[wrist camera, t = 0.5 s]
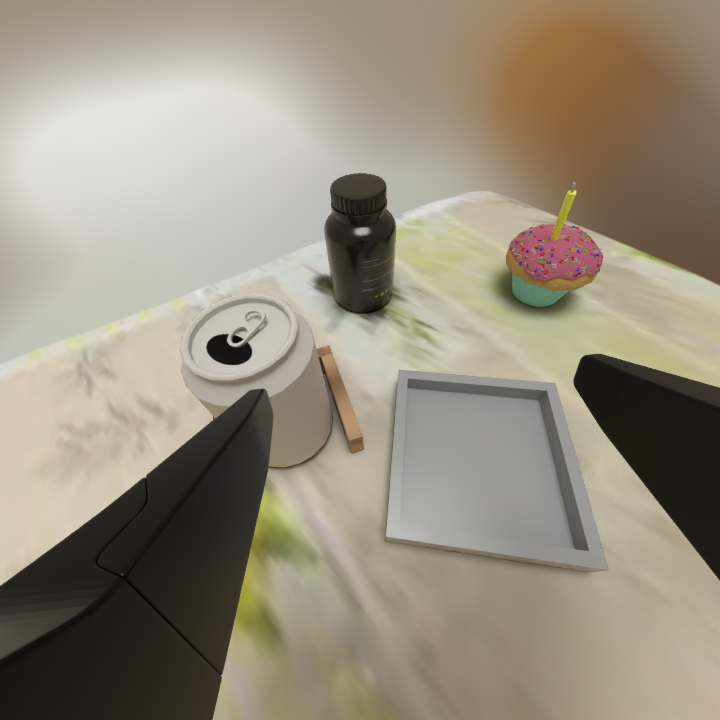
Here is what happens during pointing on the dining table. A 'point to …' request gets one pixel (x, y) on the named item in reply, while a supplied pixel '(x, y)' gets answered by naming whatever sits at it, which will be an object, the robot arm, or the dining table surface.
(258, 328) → the can
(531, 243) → the cupcake
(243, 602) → the dining table surface
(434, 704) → the dining table surface
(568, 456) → the tray
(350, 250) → the supplement bottle
